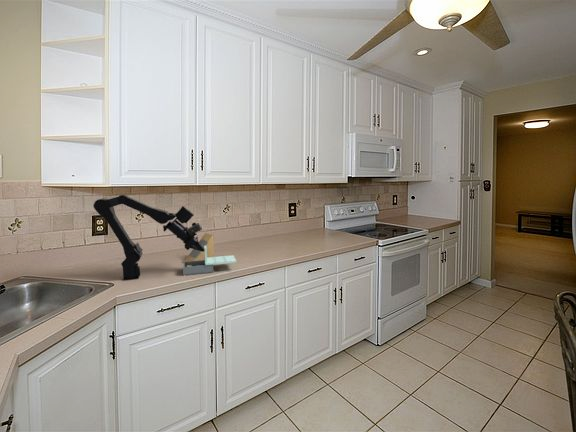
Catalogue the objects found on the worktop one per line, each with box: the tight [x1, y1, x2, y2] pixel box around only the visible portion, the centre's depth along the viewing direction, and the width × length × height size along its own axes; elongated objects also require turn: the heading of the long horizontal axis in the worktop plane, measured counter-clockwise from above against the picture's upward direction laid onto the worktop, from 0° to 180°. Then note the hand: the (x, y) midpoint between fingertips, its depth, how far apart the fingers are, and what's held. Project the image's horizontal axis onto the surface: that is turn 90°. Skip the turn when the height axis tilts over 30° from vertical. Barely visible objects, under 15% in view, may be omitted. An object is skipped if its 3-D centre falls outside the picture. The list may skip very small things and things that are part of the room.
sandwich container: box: [183, 232, 215, 262], centre depth 163 cm, size 9×15×15 cm, turn 136°
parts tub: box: [182, 260, 214, 276], centre depth 147 cm, size 14×10×4 cm
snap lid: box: [204, 246, 237, 266], centre depth 149 cm, size 15×11×8 cm
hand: (203, 250), depth 147 cm, fingers closed, pressing on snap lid
